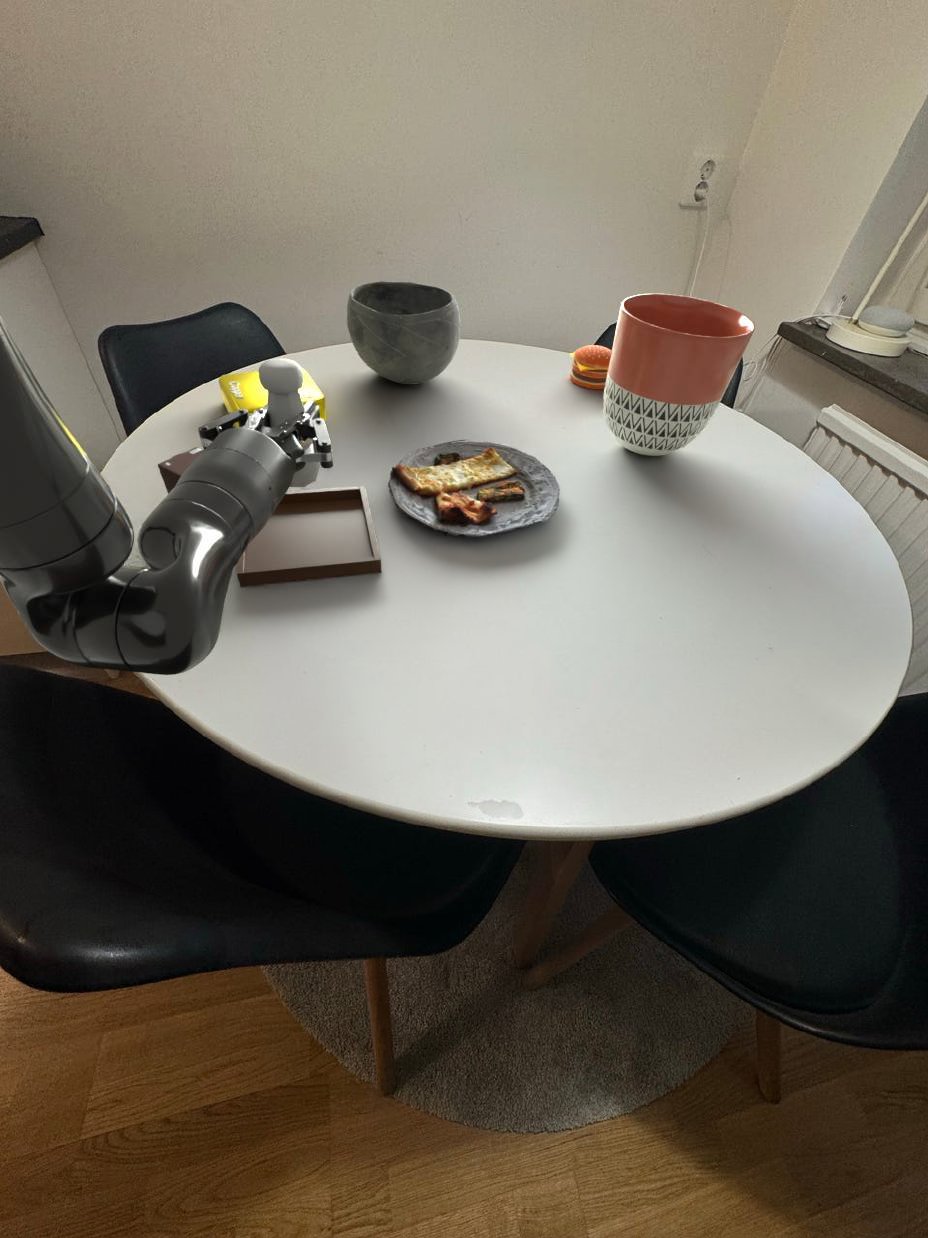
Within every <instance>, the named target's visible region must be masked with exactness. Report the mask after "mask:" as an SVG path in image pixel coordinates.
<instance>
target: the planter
mask: <svg viewBox="0 0 928 1238" xmlns="http://www.w3.org/2000/svg"><path fill="white" fill-rule="evenodd" d="M620 304H621V305H620V307H619V312H618V318H617V322H616V328H615V333H614V338H613V343H612V347H611V351H612V352H611V357H610V362H609V367H608V372H607V378H606V383H605V388H604V389H603V399H602V400H603V402H602V404H603V416H604V417H603V418H604V420H605V424H606V426H607V429H608V430H609V432H610V434H611V435H612V437H613V438H614V439H615V440H616V441H617V442H618V443H619V444H620V445H621V446H622V447H623V448H625V449H626V450H628V451H630V452H633V453H635V454H637V455H643V456H649V457H658V456H665V455H669V454H673V453H675V452H677V451H679V450H682V449H683V448H685V447H687V446H688V445H690V444H691V443H692V442H694V441H695V440H696V439H697V438H698V437H699V436H700V435H701V434H702V433H703V431H704V430H705V429H706V428H707V426H708V425H709V423H710V421H711V420H712V418H713V417H714V415H715V413H716V412H717V409H718V407H719V405H720V403H721V401H722V399H723V397H724V396H725V393H726V391H727V389H728V387H729V385H730V383H731V381H732V379H733V376H734V374H735V372H736V370H737V368H738V366H739V364H740V362H741V360H742V357H743V355H744V354H745V352H746V349H747V348H748V346H749V343H750V341H751V339H752V336H753V334H754V332H755V329H756V325H755V323H754V321H753V320H752V319H751V318H750V317H748V316H747V315H746V314H744V313H742V312H740V311H739V310H736V309H734V308H732V307H729V306H726V305H723V304H721V303H718V302H714V301H711V300H706V299H702V298H697V297H692V296H686V295H678V294H668V293H644V294H642V293H641V294H636V295H632V296H629V297H626V298H625V299H623V301H622V302H621V303H620Z"/></svg>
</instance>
